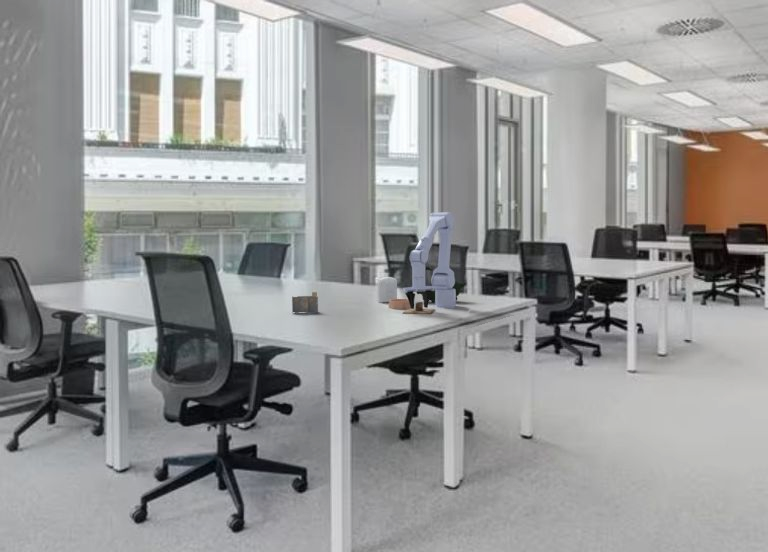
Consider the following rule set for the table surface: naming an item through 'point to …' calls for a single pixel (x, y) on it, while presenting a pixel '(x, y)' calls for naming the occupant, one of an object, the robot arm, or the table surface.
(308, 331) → the table surface
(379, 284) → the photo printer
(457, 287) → the toy figurine
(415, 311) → the lid
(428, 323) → the table surface
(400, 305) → the bowl
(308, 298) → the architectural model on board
